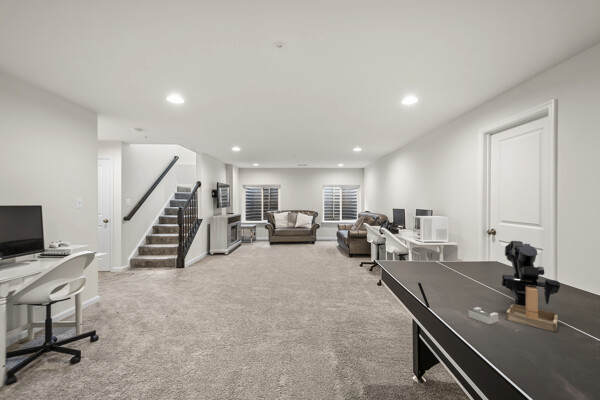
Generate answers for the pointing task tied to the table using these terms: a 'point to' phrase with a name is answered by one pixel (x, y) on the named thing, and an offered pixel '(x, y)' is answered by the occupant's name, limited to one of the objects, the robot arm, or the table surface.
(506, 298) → the table surface
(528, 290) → the orange post
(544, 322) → the tray
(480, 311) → the white piece
